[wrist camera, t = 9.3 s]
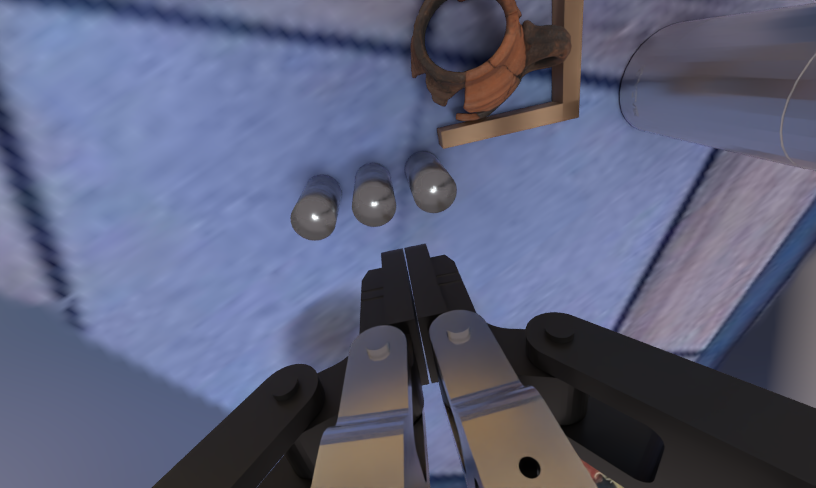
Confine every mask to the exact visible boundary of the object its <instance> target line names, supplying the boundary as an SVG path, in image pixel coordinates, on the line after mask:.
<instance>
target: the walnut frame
mask: <svg viewBox="0 0 816 488" xmlns="http://www.w3.org/2000/svg"><path fill="white" fill-rule="evenodd" d="M583 1H584V0H552V25H557V26H562V27H564V28H565V29H566V30H567V31H568V33H569V34H570V36H571V45H572V47H571V52H570V54H569V55H568V56H567V58H566V60H565V61H564V62H562V63H560V64H558V65H555V66H552V102H548V103H543V104H539V105H535V106H531V107H526V108H522V109H518V110H513V111H509V112H505V113H500V114H496V115H492V116H488V117H484V118H480V119H477V120H473V121H466V122H462V123H458V124H453V125H449V126H445V127H440V128H437V133H438V139H439V145H440V146H441V147H442V148H443V149H445V148H449V147H453V146H458V145H462V144H466V143H471V142H475V141H479V140H484V139H488V138H492V137H497V136H501V135H505V134H509V133H514V132H518V131H522V130H527V129H531V128H535V127H540V126H544V125H548V124H552V123H557V122H561V121H565V120H570V119H574V118H578V117H579V100H580V75H581V50H582V25H583Z"/></svg>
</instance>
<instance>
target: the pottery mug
mask: <svg viewBox="0 0 816 488" xmlns="http://www.w3.org/2000/svg"><path fill="white" fill-rule="evenodd" d="M445 1H447V0H425V1H424V3H423V5H422V6H421V8H420V10H419V15H418V16H417V18H416V21H415V24H414V30H413V36H412V39H411V71H412V77H413V78H416V77H417V75H421V74H424V73H425V74H426V84H427V88H428V90H429V92H430V93H431V95H432V99H433V101H434V102H435V103H437V104H439V105H441V106H446V104H447V101H448V99H450V98H451V97H452V96H453V95H454V94H455V93H457V92H458V91H459V90H461V89H462V88H465V101H464V109H465V110H466V111H467V112H469V113H471V114H463V113H457V114H456V119H457V120H460V121H473V120H477V119H480V118H484V117H486V116H488V115H490V114H491V113H492V112H493V111H494V110H496V109H497V108H498V107H499V106H500V105H501V104H502V103H503V102H504V101H505V100H506V99H507V98H508V97H509V96H510V95H511V94H512V93H513V92H514V91H515V89H516V88H517V87H518V85H519V84H520V82H521V79H522V77H523V76H524V75H525V74H527V73H529V72H531V71H533V70H538V69H544V68H549V67H552V66H555V65H558V64H560V63H562V62H564V61H565V60H566V58H567V56H568V55H569V54H570V52H571V47H572V45H571V36H570V34H569V33H568V31H567V30H566V29H565V28H564V27H562V26H557V25H545V26H537V25H534V24H533V23H531V22H530V21H528V20H526V21H524V22H523V24H522V25H521V24H520V23H519V18H520V17H521V16H522V14H521V12H520V10H519V9H518V7H517V5H516V2H515V0H496V1H497V2H498V3H499V4H500V5H501V7H502V9H503V10H504V13H505V17H506V32H505V36H504V39H503V41H502V43H501V45H500V47H499V48H498V50H497V51H496V53H495V54H494V55H493V56H492V57H491V58H490V59H489V60H488V61H486V62H485V63H483V64H482V65H480V66H478V67H476V68H474V69H471V70H468V71H465V72H452V71H447V70H445V69H443V68H441V67H439V66H438V65H436V64H435V63H434V62H433V61H432V60H431V59H430V58H429V56H428V54H427V51H426V48H425V32H426V28H427V25H428V22H429V21H430V19H431V17H432V15H433V14H434V12H435V11H436V10H437V9H438V8H439V7H440V5H442V4H443V3H444V2H445ZM457 1H459V2H462V1H465V0H457ZM472 112H476V113H472Z"/></svg>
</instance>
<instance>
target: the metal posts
mask: <svg viewBox="0 0 816 488" xmlns="http://www.w3.org/2000/svg"><path fill="white" fill-rule="evenodd" d="M405 174H406V177H407V180H408V183H409V186H410V189H411V192H412V194H413V197H414V200H415V203H416V204H417V206H418V207H419V208H420V209H422V210H423V211H425V212H429V213H438V212H442V211H444V210H446V209H447V208H448V207H449V206H451V204H452V203H453V201H454V200H455V197H456V192H457V189H456V184H455V182H454V180H453V179H452V177H451V176H450V175H449V173H448V172H447V171H446V169H445V168H444V167H443V165H442V164H441V163H440V161H439V160H438V159H437V157H436V156H435V155H433V154H432V153H430V152H427V151H421V152H417V153H415V154H413V155H412V156H411V157H410V158H409V159H408V161H407V162H406V165H405ZM341 196H342V190H341V187H340V185H339V183H338V182H337V181H336V180H335V179H334V178H332V177H330V176H327V175H317V176H314V177H313V178H311V179H310V180H309V181H308V183H307V184H306V186H305V188H304V190H303V192H302V194H301V196H300V198H299V200H298V201H297V203H296V205H295V207H294V209H293V211H292V213H291V224H292V227H293V229H294V230H295V231H296V233H298V234H299V235H300V236H301V237H303V238H305V239H308V240H321V239H324V238H326V237H328V236H329V235H330V234H331V233H332V232H333V230H334V228H335V224H336V220H337V215H338V210H339V205H340V201H341ZM352 210H353V213H354V215H355V217H356V218H357V220H358V221H360V222H361V223H362V224H364V225H367V226H371V227H377V226H382V225H384V224H386V223H387V222H389V221H390V220H391V219H392V217H393V216H394V214H395V211H396V202H395V197H394V192H393V187H392V182H391V177H390V174H389V172H388V170H387V169H386V168H385V167H383V166H382V165H380V164H377V163H369V164H366V165H364V166H362V167H361V168H360V169H359V170H358V172H357V174H356V177H355V184H354V193H353V201H352Z"/></svg>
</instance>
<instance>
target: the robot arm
mask: <svg viewBox="0 0 816 488" xmlns="http://www.w3.org/2000/svg"><path fill="white" fill-rule="evenodd" d="M620 105H621V110H622V113H623V115H624V117H625V119H626V120H627V121H628V122H629V123H630V124H631V126H633V127H635V128H636V129H638V130H642V131H646V132H650V133H654V134H658V135H662V136H667V137H671V138H674V139H678V140H683V141H687V142H691V143H695V144H700V145H704V146H708V147H713V148H717V149H721V150H725V151H730V152H734V153H738V154H743V155H747V156H751V157H756V158H760V159H764V160H768V161H773V162H777V163H781V164H786V165H790V166H794V167H799V168H803V169H808V170H813V171H816V3H812V4H805V5H798V6H791V7H784V8H777V9H770V10H763V11H756V12H749V13H742V14H735V15H728V16H720V17H713V18H706V19H699V20H692V21H685V22H680V23H675V24H672V25H669V26H667V27H665V28H663V29H661V30H659V31H658V32H657V33H655V34H654V35H652V36H651V37H650V38H649V39H648V40H647V41H646V42H645V43H644V44H643V45H641V47H640V48H639V49H638V51H637V52H636V53H635V54H634V56H633V57H632V59H631V61H630V63H629V65H628V66H627V68H626V71H625V73H624V76H623V79H622V83H621V89H620ZM405 254H406V259H407V265H408V270H409V275H410V280H409V275H408V271H407V266H406V261H405V257H404V252H403V248H402V249H397V250H392V251H388V252H383V253H381V260H382V268H378V269H374V270H369V271H368V272H367V274H366V275H365V277H364V278H363V280H362V287H361V292H362V293H361V311H360V334H359V336H357V338H356V339H355V340H354V341H353V343H352V344H351V346H350V350H349V355H348V357H346V358H345V359H344V360H342V361H341V362H339V363H338V364H336V365H334V366H332V367H330V368H328V369H325V370H323V371H321V372H319V373H316V371H315V370H314V369H313V368H312V367H311V366H309V365H306V364H294V365H290V366H287V367H284V368H282V369H280V370H278V371H277V372H275V373H274V374H272V375H271V376H270V377H269V378H267V379H266V380H265V381H264V382H263V383H262V384H261V385H260V386H259V387H258V388H257V389H256V390H255V391H254V392H253V393H252V394H250V395H249V396H248V397H247V398H246V399H245V400H244V401H243V402H242V403H241V404H240V405H239V406H238V407H237V408H236V409H235V410H233V411H232V412H231V413H230V414H229V415H228V416H227V417H226V418H225V419H224V420H223V421H222V422H221V423H220V424H219V425H218V426H217V427H215V428H214V429H213V430H212V431H211V432H210V433H209V434H208V435H207V436H206V437H205V438H204V439H203V440H202V441H201V442H200V443H198V444H197V445H196V446H195V447H194V448H193V449H192V450H191V451H190V452H189V453H188V454H187V455H186V456H185V457H184V458H183V459H181V460H180V461H179V462H178V463H177V464H176V465H175V466H174V467H173V468H172V469H171V470H170V471H169V472H168V473H167V474H166V475H164V476H163V477H162V478H161V479H160V480H159V481H158V482H157V483H156V484H155V485H154V486H153V487H152V488H256V487H257V486H258V485H259V486H258V487H257V488H430V479H429V466H428V452H427V439H426V425H425V413H424V408H423V407H424V398H423V391H422V385H426V384H429V380H428V374H427V369H426V364H425V358H424V353H423V347H422V342H421V337H422V341H423V346H424V350H425V355H426V360H427V364H428V369H429V373H430V378H431V383H435V382H439V386H440V390H441V395H442V399H443V404H444V409H445V413H446V416H447V420H448V423H449V426H450V430H451V433H452V436H453V439H454V443H455V446H456V449H457V453H458V456H459V459H460V463H461V466H462V469H463V473H464V476H465V479H466V483H467V486H468V488H598V487H597V486H596V484H595V482H594V481H593V479H592V478H591V476H590V474H589V473H588V471H587V469H586V468H585V466H584V465H583V463H582V461H581V460H583V461H584V462H586V463H587V464H589V465H590V466H592V467H593V468H595V469H596V470H598V471H599V472H601V473H602V474H604V475H605V476H607V477H608V478H610V479H611V480H613V481H615V482H616V483H618V484H619V485H621V486H622V487H624V488H816V408H813V407H811V406H808V405H806V404H803V403H800V402H798V401H795V400H792V399H790V398H787V397H784V396H782V395H779V394H777V393H774V392H772V391H769V390H766V389H763V388H761V387H758V386H756V385H753V384H751V383H748V382H745V381H742V380H740V379H737V378H734V377H732V376H730V375H727V374H724V373H722V372H719V371H716V370H714V369H711V368H709V367H706V366H703V365H701V364H698V363H695V362H693V361H690V360H688V359H685V358H682V357H680V356H677V355H674V354H672V353H669V352H667V351H664V350H661V349H659V348H656V347H653V346H651V345H648V344H646V343H643V342H640V341H638V340H635V339H632V338H630V337H627V336H625V335H622V334H619V333H617V332H614V331H612V330H609V329H606V328H604V327H601V326H598V325H596V324H593V323H591V322H588V321H585V320H583V319H580V318H577V317H575V316H572V315H569V314H565V313H557V312H550V313H544V314H540V315H538V316H536V317H534V318H532V319H531V320H530V321H529V323H528V324H527V326H526V329H507V328H500V327H496V326H493V325H490V324H488V323H486V321H485V320H484V319H483V318H482V317H481V316H480V315H478V314H477V313H476V311H475V309H474V307H473V304H472V302H471V300H470V297H469V295H468V293H467V290H466V288H465V286H464V283H463V281H462V279H461V276H460V274H459V272H458V269H457V267H456V265H455V262H454V261H453V260H451V259H450V258H448V257H447V256H446V255H441V256H436V257H431V258H430V256H429V252H428V249H427V246H426V244H421V245H416V246H411V247H407V248H405ZM410 281H411V284H410ZM411 286H412V289H411ZM412 291H413V294H412ZM413 297H414V299H413ZM414 302H415V304H414ZM415 307H416V309H415ZM416 313H417V315H416ZM417 318H418V320H417ZM418 323H419V326H418ZM419 327H420V331H419ZM420 332H421V336H420ZM283 455H284V456H283ZM282 456H283V457H282ZM280 459H281V460H280ZM580 459H581V460H580ZM279 460H280V461H279ZM278 461H279V462H278ZM277 462H278V463H277ZM274 466H275V467H274ZM273 467H274V468H273ZM272 468H273V469H272ZM271 469H272V470H271ZM269 472H270V473H269ZM268 473H269V474H268ZM267 474H268V475H267ZM266 475H267V476H266ZM264 478H265V479H264ZM263 479H264V480H263ZM262 480H263V481H262ZM261 481H262V482H261Z"/></svg>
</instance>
